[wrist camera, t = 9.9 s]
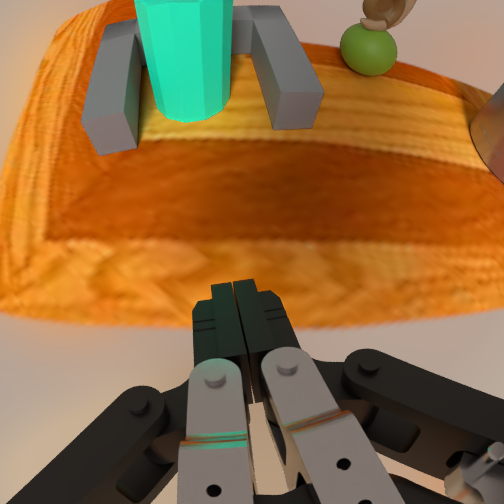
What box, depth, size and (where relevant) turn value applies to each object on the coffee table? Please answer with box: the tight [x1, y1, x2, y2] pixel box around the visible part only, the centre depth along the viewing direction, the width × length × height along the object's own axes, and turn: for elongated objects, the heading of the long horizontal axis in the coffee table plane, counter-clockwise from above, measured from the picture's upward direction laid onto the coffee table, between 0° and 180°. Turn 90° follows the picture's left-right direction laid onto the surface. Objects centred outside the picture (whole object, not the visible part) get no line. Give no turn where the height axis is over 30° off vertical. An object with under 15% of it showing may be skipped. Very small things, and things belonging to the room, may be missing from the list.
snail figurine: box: [340, 0, 416, 76], centre depth 20 cm, size 5×6×12 cm
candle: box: [134, 0, 233, 123], centre depth 17 cm, size 6×6×12 cm
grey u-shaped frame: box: [81, 6, 324, 156], centre depth 22 cm, size 16×13×4 cm
